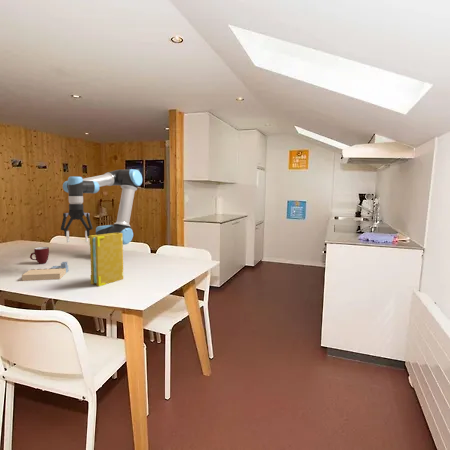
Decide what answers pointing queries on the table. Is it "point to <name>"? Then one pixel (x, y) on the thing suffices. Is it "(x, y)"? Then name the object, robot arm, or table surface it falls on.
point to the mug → (41, 254)
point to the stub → (63, 265)
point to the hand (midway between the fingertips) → (77, 241)
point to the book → (106, 258)
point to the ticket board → (44, 274)
